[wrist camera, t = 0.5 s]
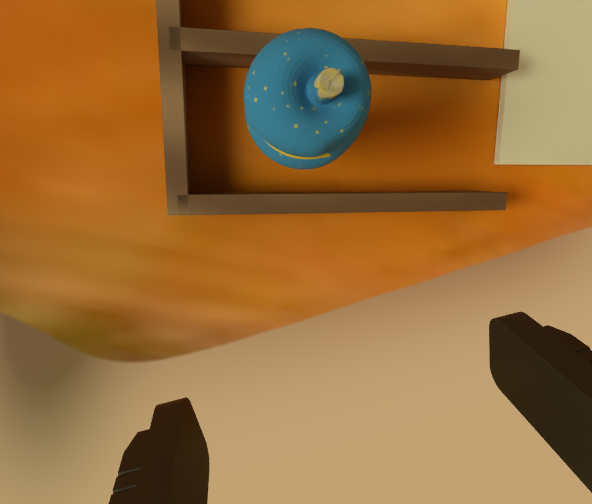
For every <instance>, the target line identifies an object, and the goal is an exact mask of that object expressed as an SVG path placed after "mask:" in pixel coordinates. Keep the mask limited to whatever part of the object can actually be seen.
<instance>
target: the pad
mask: <svg viewBox="0 0 592 504" xmlns="http://www.w3.org/2000/svg"><path fill="white" fill-rule="evenodd" d="M504 49H513V50H520V56H519V67H518V70H516V71H513V72H510V73H507V74H504V75H502V76H501V87H500V99H499V110H498V122H497V134H496V146H495V158H494V164H495V165H592V0H508V4H507V16H506V28H505V40H504Z"/></svg>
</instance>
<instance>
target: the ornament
mask: <svg viewBox="0 0 592 504" xmlns="http://www.w3.org/2000/svg"><path fill="white" fill-rule="evenodd" d="M370 101H371V84H370V78H369V74H368V71H367V68H366V66H365V63H364V61H363V60H362V58H361V56H360V55H359V53H358V52H357V51H356V50H355V49H354V47H353V46H352V45H351V44H349V43H348V42H347V41H346V40H344V39H343V38H341V37H339V36H338V35H335V34H333V33H331V32H328V31H325V30H321V29H315V28H306V29H296V30H292V31H289V32H286V33H283V34H281V35H279V36H278V37H276V38H275V39H273V40H272V41H270V42H269V43H268V44H267V45H265V46H264V47H263V48H262V49H261V50H260V52H259V53H258V54H257V56H256V57H255V59H254V60H253V62H252V64H251V66H250V69H249V71H248V74H247V76H246V81H245V86H244V105H245V118H246V123H247V126H248V129H249V132H250V134H251V136H252V138H253V140H254V142H255V143H256V145H257V146H258V147H259V149H260V150H261V151H262V152H263V153H264V154H265V155H266V156H268V157H269V158H271V159H272V160H273V161H275V162H277V163H279V164H281V165H283V166H286V167H290V168H294V169H313V168H318V167H322V166H324V165H326V164H329V163H330V162H332V161H334V160H335V159H337V158H338V157H339V156H340V155H341V154H343V153H344V152H345V151H346V150H347V149H348V148H349V147H350V146H351V144H352V143H353V142H354V141H355V140H356V138H357V137H358V135H359V133H360V132H361V130H362V128H363V126H364V124H365V121H366V119H367V116H368V112H369V108H370Z"/></svg>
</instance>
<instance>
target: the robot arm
mask: <svg viewBox="0 0 592 504" xmlns="http://www.w3.org/2000/svg"><path fill="white" fill-rule="evenodd" d="M489 344H490V370H491V374H492V376H493V379H494V381H495V383H496V385H497V386H498V388H499V389H500V390H501V392H502V393H503V394H504V395H505V396H506V397H507V398H508V399H509V400H510V401H511V403H512V404H513V405H514V406H515V407H516V408H517V409H518V411H519V412H520V413H521V414H522V415H523V416H524V417H525V418H526V419H527V421H528V422H529V423H530V424H531V425H532V426H533V427H534V428H535V430H536V431H537V432H538V433H539V434H540V435H541V436H542V437H543V438H544V440H545V441H546V442H547V443H548V444H549V445H550V446H551V448H552V449H553V450H554V451H555V452H556V453H557V454H558V455H559V456H560V458H561V459H562V460H563V461H564V462H565V463H566V464H567V465H568V467H569V468H570V469H571V470H572V471H573V472H574V473H575V474H576V475H577V477H578V478H579V479H580V480H581V481H582V482H583V483H584V484H585V486H586V487H587V488H588V489H589V490H590V491H591V492H592V351H591V350H590V348H589V347H588V346H587V345H585V344H584V343H582V342H581V341H580V340H578V339H577V338H576V337H574V336H573V335H571V334H569V333H566V332H564V331H561V330H559V329H556V328H554V327H551V326H544V327H543V326H541V325H540V324H539V323H537V322H536V321H535V320H534V319H532V318H531V317H530V316H528V315H527V314H525V313H523V312H517V313H513V314H509V315H505V316H501V317H498V318H494V319H492V320H491V321H490V324H489ZM208 482H209V454H208V448H207V444H206V441H205V438H204V436H203V433H202V430H201V428H200V425H199V423H198V420H197V418H196V415H195V412H194V410H193V407H192V405H191V402H190V400H189V399H188V398H182V399H179V400H175V401H171V402H167V403H163V404H159V405H157V406H156V408H155V410H154V414H153V418H152V422H151V426H150V429H148V430H145V431H141V432H138V433H137V434H136V436H135V437H134V438H133V440H132V441H131V443H130V444H129V446H128V447H127V449H126V450H125V452H124V454H123V457H122V461H121V464H120V468H119V471H118V477H117V478H116V481H115V484H114V488H113V495H111V498H110V501H109V504H207V498H208Z"/></svg>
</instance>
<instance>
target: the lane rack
mask: <svg viewBox="0 0 592 504" xmlns="http://www.w3.org/2000/svg"><path fill="white" fill-rule="evenodd" d="M156 9H157V27H158V45H159V64H160V82H161V100H162V118H163V136H164V154H165V172H166V190H167V208H168V215H226V214H288V213H350V212H413V211H475V210H506V199H507V193H505V192H485V191H438V192H279V193H191V188H190V165H189V143H188V121H187V99H186V76H185V65H201V66H220V67H240V68H250V66H251V64H252V62H253V60H254V59H255V57H256V56H257V54H258V53H259V52H260V50H261V49H262V48H263V47H264V46H265V45H267V44H268V43H269V42H270V41H272V40H273V39H275V38H276V37H278V36H279V35H281V34H275V33H260V32H245V31H230V30H215V29H200V28H185V27H183V9H182V0H156ZM343 39H344V40H346V41H347V42H348V43H349V44H351V45H352V46H353V47H354V49H355V50H356V51H357V52H358V53H359V55H360V56H361V58H362V60H363V61H364V63H365V66H366V68H367V71H368V74H379V75H398V76H418V77H438V78H458V79H477V80H490V79H493V78H496V77H499V76H502V75H504V74H507V73H510V72H513V71H516V70H518V67H519V56H520V50H513V49H498V48H484V47H469V46H454V45H439V44H424V43H409V42H394V41H379V40H364V39H349V38H343Z"/></svg>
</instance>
